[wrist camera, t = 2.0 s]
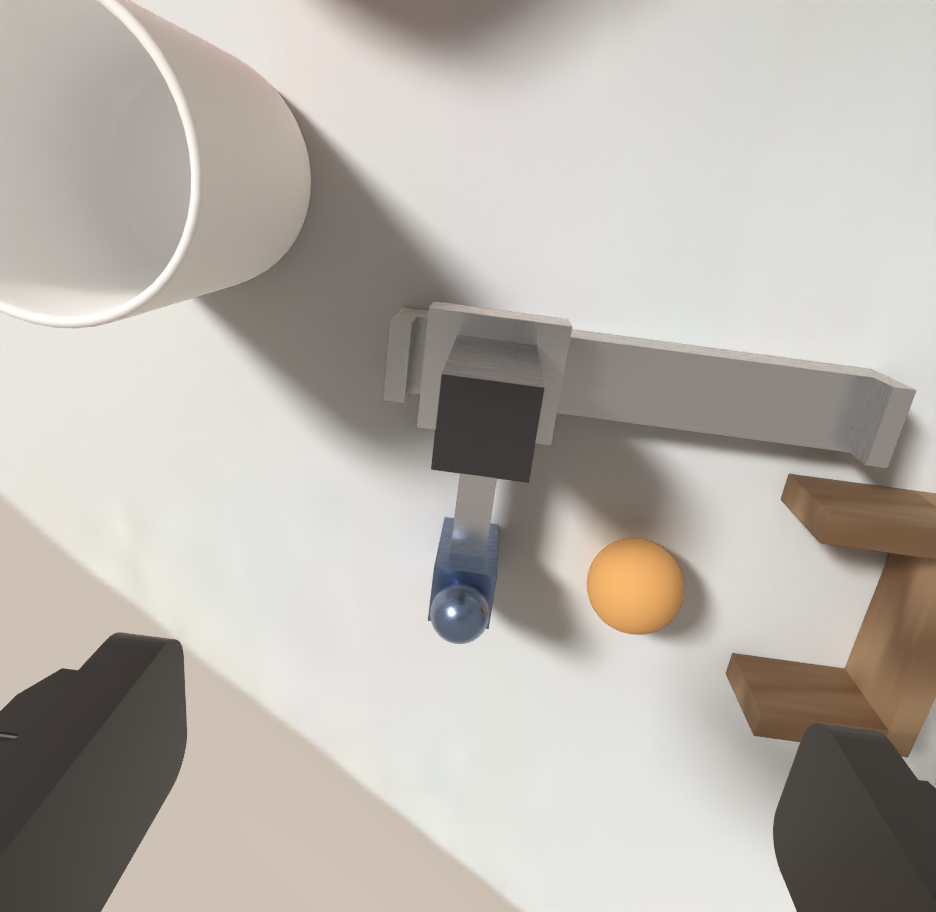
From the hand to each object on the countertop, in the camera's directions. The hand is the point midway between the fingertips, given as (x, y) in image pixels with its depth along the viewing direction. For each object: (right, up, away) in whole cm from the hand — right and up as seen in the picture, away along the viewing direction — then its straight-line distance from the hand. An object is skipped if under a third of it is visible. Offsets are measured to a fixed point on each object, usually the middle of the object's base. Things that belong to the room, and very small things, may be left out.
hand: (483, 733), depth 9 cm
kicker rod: (0, +4, +20) cm, 20 cm away
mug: (-12, +15, +17) cm, 26 cm away
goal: (+16, -2, +22) cm, 27 cm away
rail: (+6, +7, +19) cm, 21 cm away
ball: (+7, -2, +20) cm, 21 cm away
